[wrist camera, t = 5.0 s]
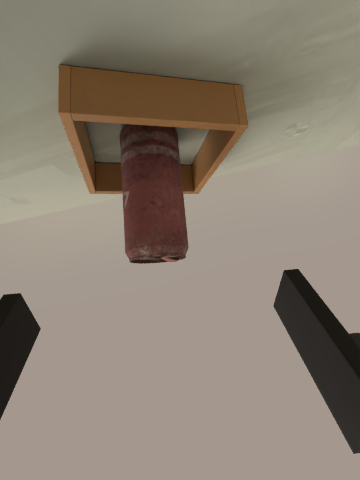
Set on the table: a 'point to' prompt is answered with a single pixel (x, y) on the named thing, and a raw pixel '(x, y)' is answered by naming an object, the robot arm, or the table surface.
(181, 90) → the wooden square frame
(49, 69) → the table surface
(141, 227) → the can
